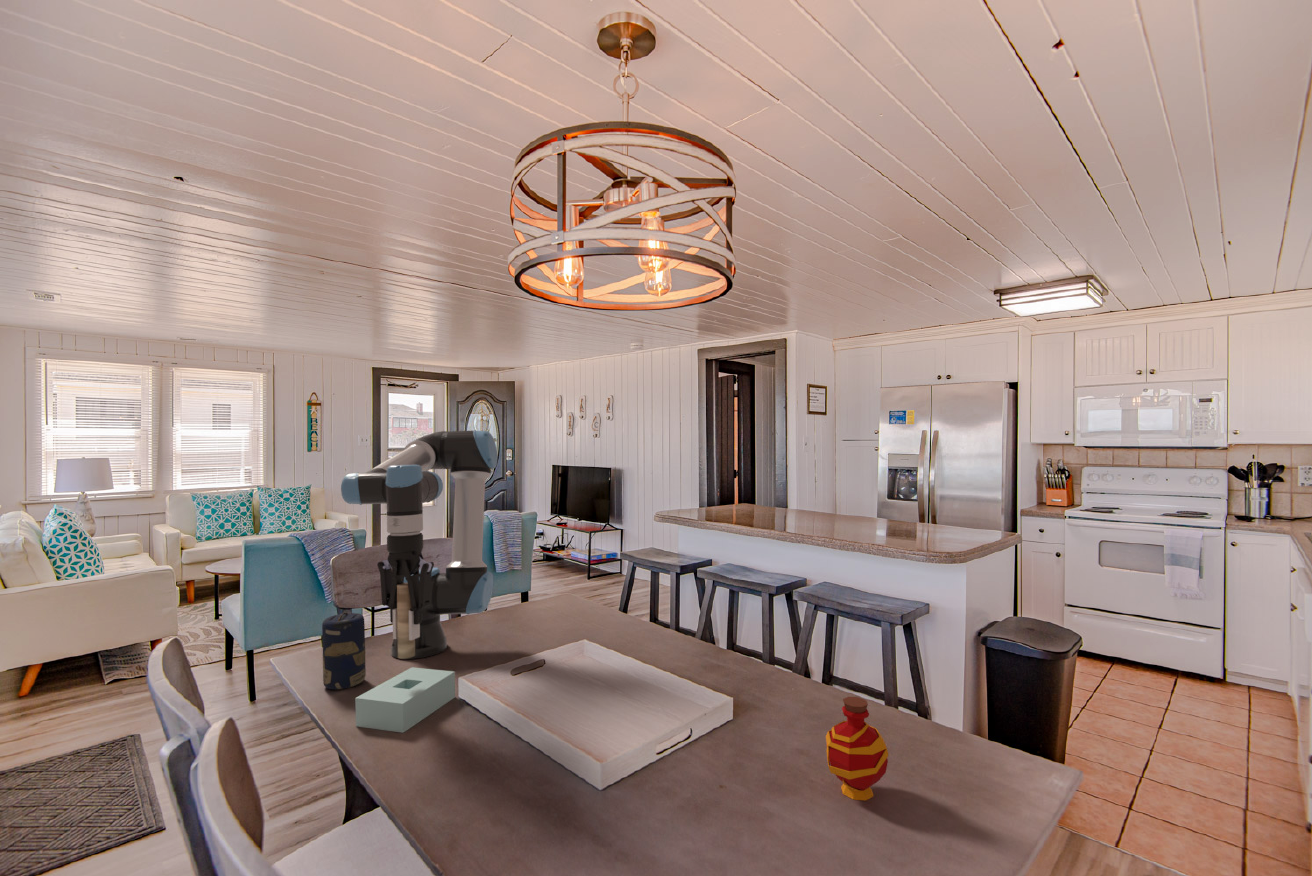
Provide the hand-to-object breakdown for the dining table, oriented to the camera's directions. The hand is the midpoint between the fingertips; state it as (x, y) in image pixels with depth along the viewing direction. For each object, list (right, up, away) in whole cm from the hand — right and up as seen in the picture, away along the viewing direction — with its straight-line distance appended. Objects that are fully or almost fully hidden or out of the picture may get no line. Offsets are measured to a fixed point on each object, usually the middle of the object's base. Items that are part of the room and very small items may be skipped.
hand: (406, 637), depth 135 cm
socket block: (0, -16, 0) cm, 16 cm away
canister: (-22, -17, +16) cm, 32 cm away
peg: (0, -4, 0) cm, 4 cm away
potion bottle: (+90, -15, -34) cm, 97 cm away
